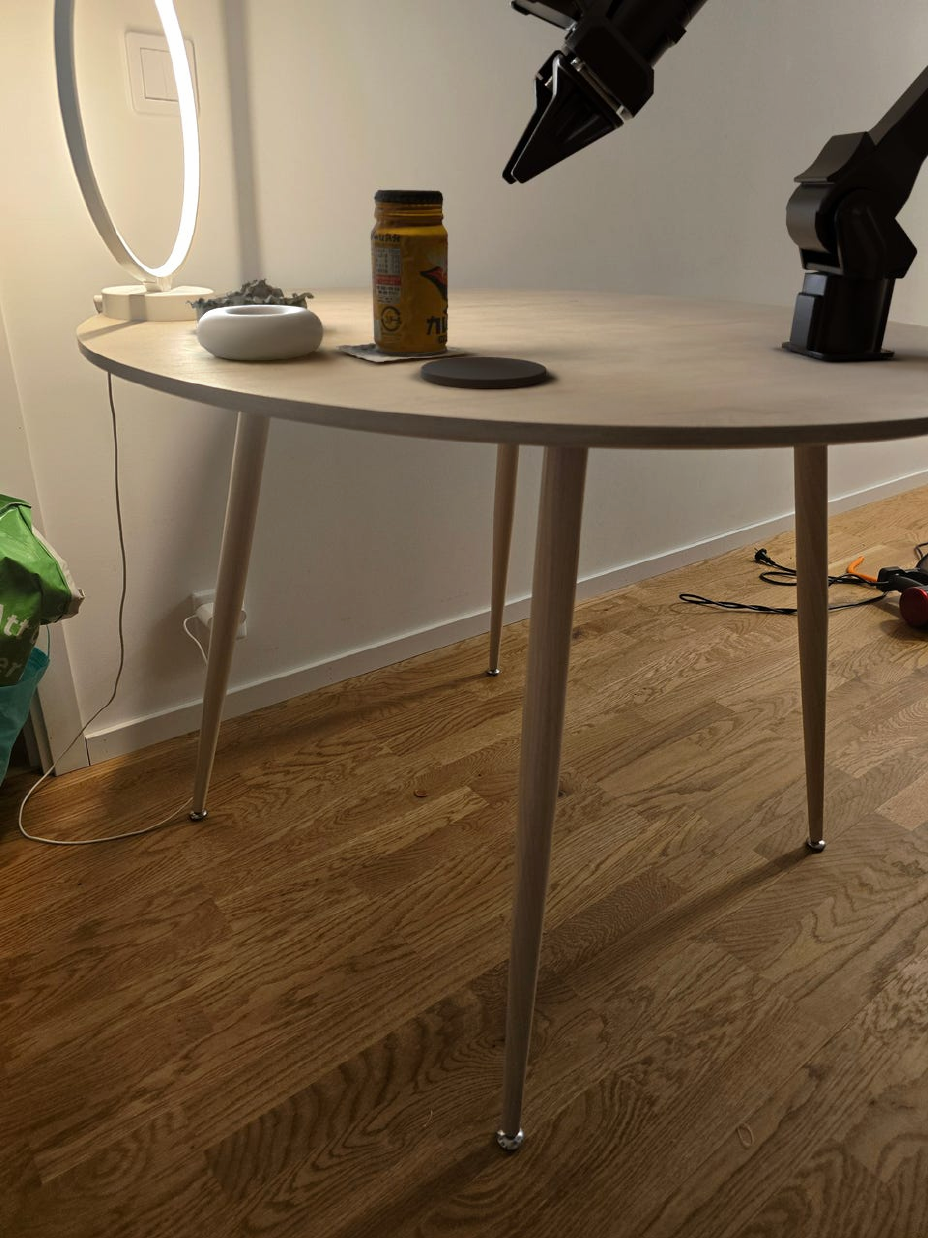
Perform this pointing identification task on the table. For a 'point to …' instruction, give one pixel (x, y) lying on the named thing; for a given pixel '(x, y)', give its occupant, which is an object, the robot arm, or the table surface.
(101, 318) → the table surface
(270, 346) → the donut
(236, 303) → the grey crumpled piece
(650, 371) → the table surface
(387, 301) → the condiment
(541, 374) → the coaster
